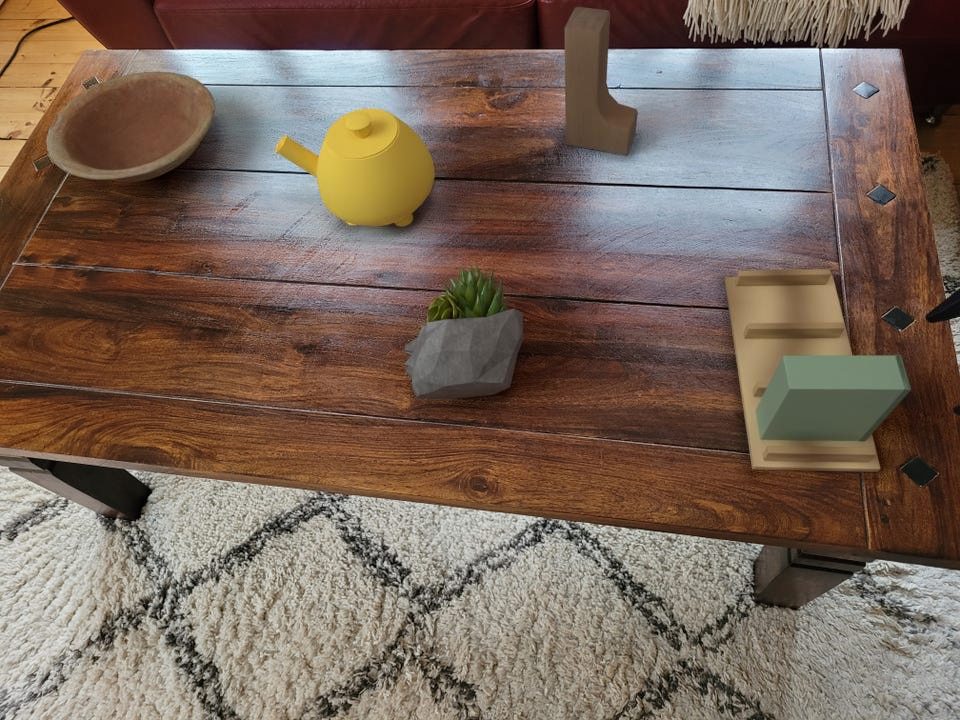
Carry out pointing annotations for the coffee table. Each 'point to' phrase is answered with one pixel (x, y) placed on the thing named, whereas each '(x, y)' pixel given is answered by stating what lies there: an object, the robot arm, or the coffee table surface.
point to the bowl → (131, 127)
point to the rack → (789, 332)
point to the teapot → (368, 168)
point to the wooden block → (593, 87)
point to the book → (831, 397)
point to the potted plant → (466, 341)
